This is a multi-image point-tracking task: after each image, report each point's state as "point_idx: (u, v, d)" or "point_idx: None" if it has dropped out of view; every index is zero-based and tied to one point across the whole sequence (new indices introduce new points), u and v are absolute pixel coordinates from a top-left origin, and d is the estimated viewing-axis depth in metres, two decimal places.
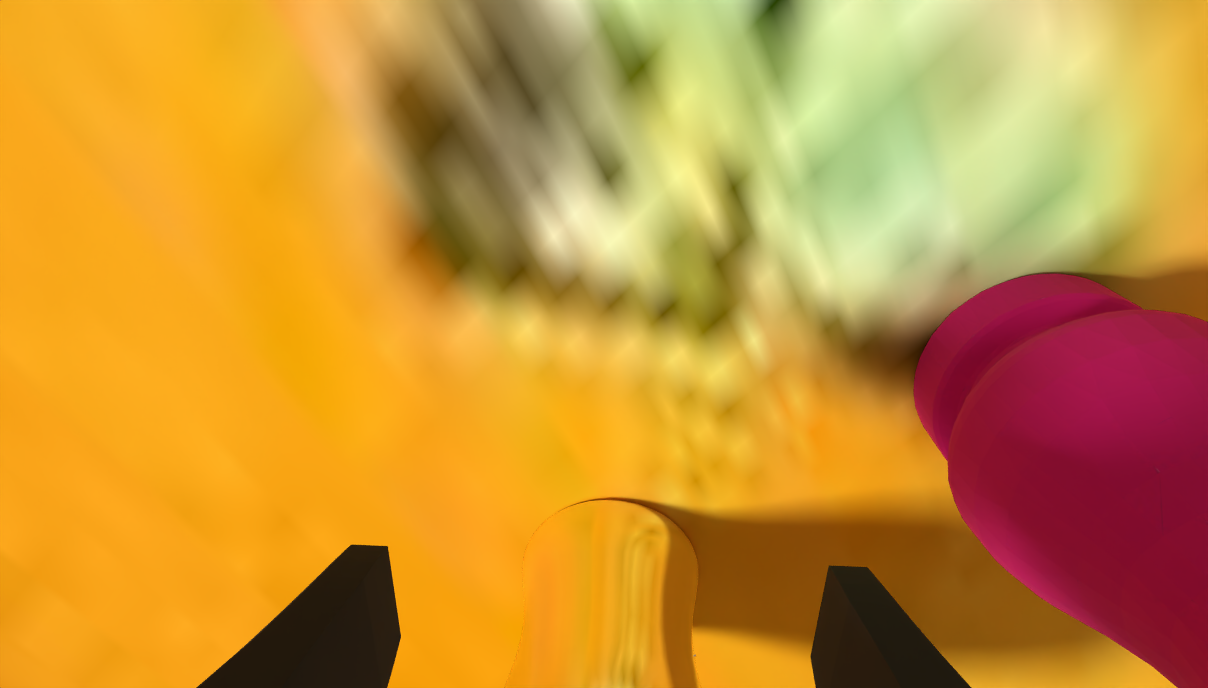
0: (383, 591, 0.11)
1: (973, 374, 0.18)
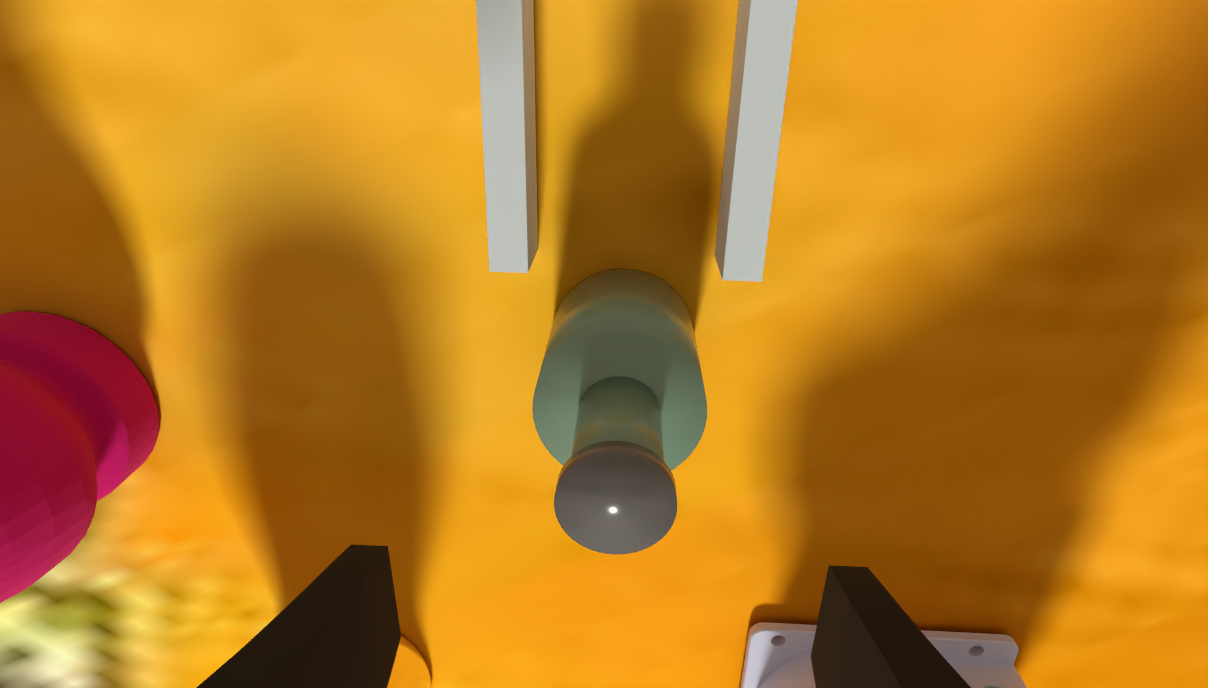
0: (383, 591, 0.11)
1: None
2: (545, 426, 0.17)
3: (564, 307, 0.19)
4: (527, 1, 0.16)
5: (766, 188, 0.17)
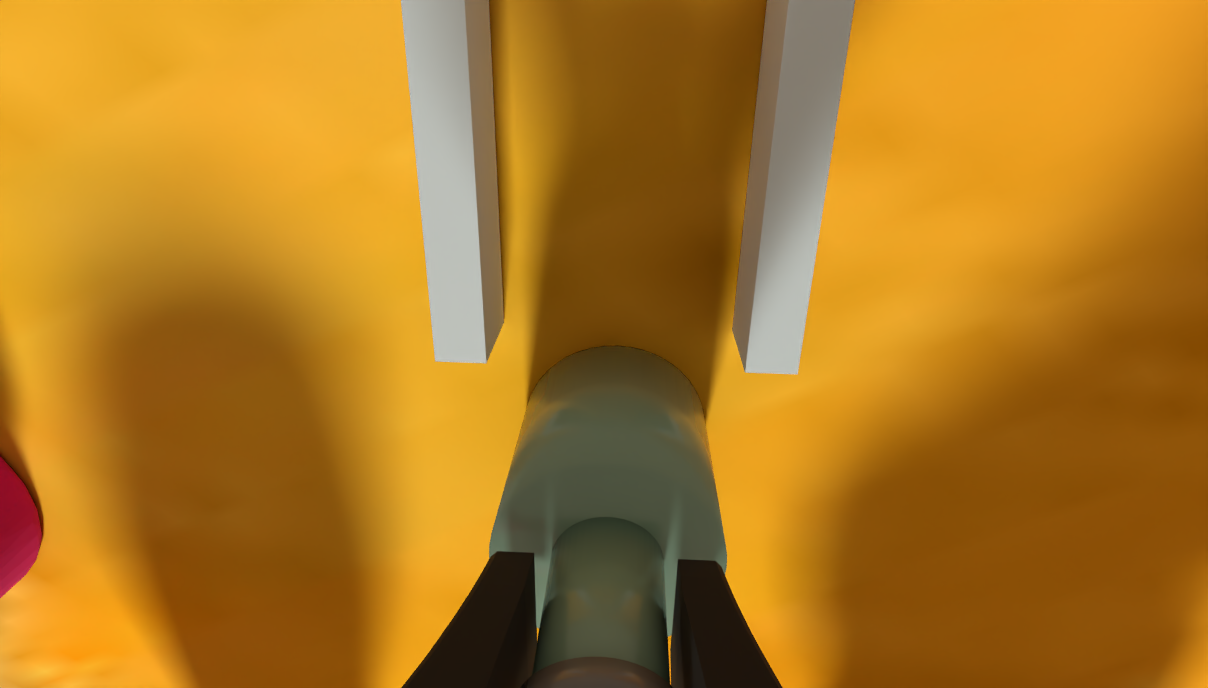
0: (531, 597, 0.11)
1: None
2: None
3: (537, 399, 0.15)
4: (476, 2, 0.12)
5: (806, 254, 0.12)
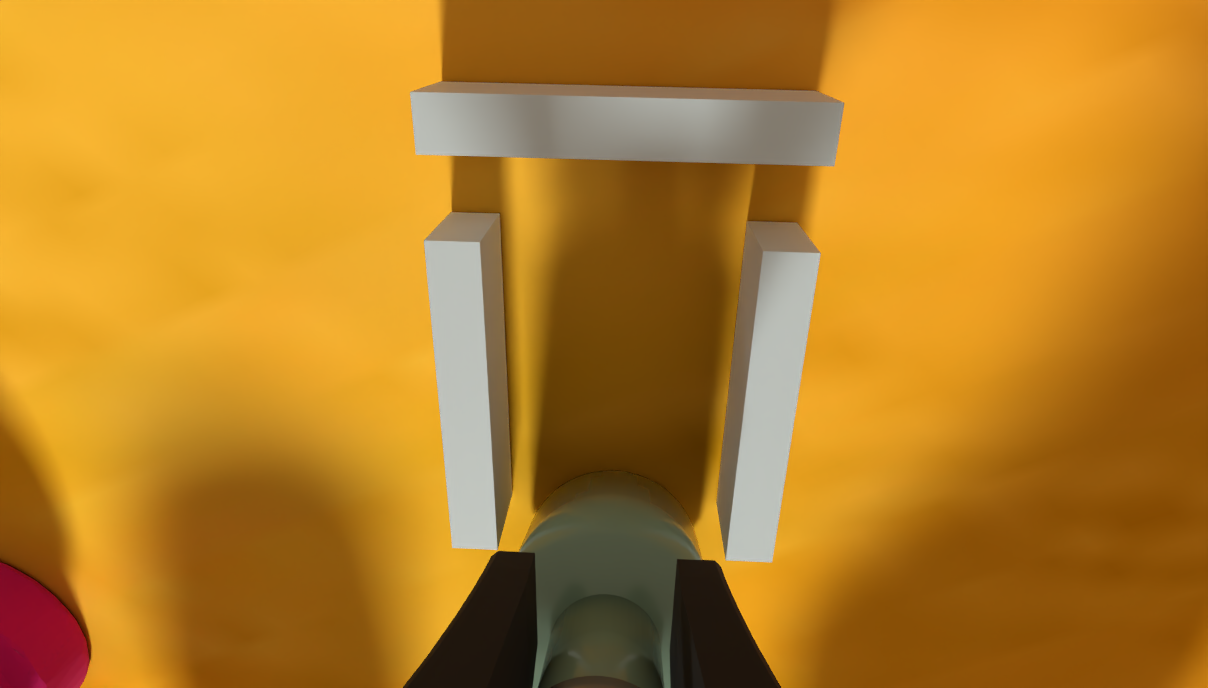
0: (532, 598, 0.11)
1: None
2: None
3: (539, 514, 0.16)
4: (491, 263, 0.14)
5: (777, 471, 0.14)
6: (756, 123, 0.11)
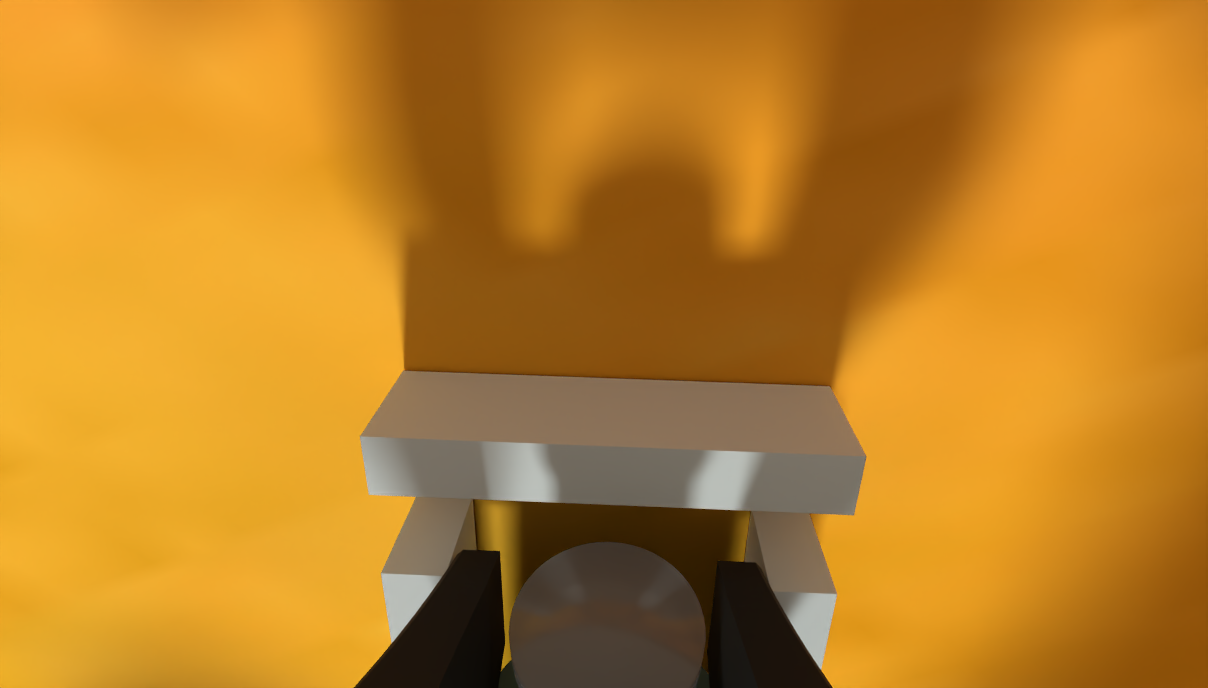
0: (496, 596, 0.11)
1: None
2: None
3: None
4: None
5: None
6: (763, 473, 0.10)
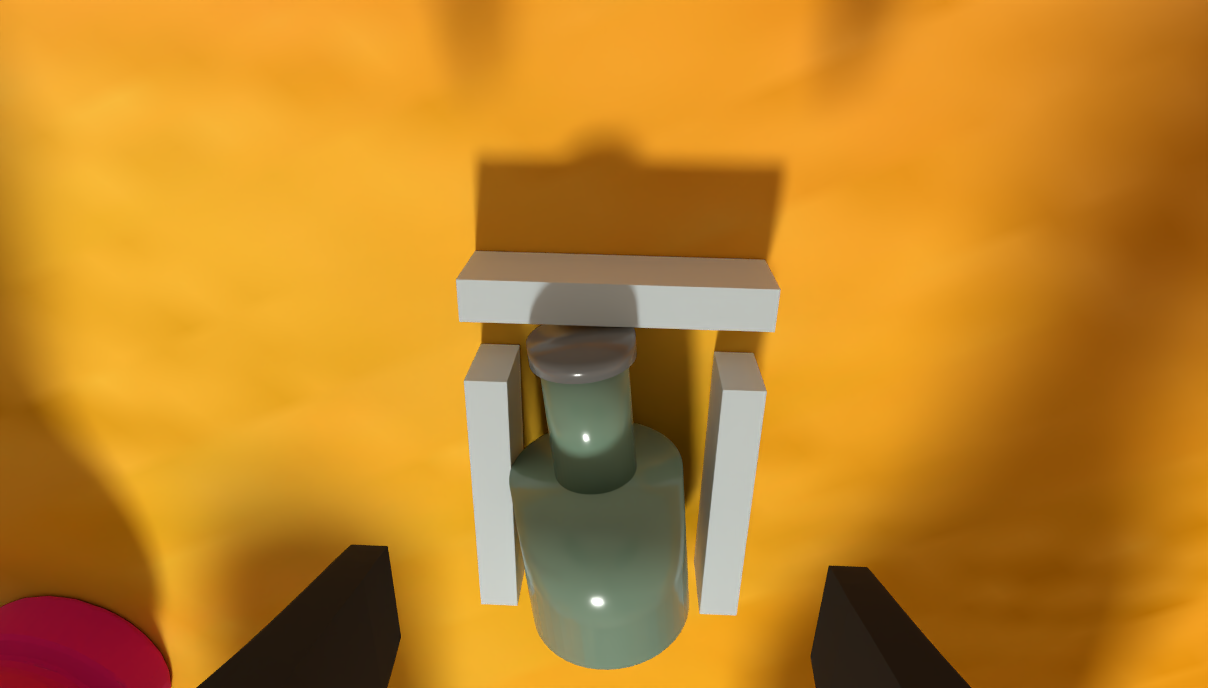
0: (383, 591, 0.11)
1: None
2: (519, 482, 0.17)
3: None
4: (514, 389, 0.17)
5: (738, 547, 0.18)
6: (715, 302, 0.15)
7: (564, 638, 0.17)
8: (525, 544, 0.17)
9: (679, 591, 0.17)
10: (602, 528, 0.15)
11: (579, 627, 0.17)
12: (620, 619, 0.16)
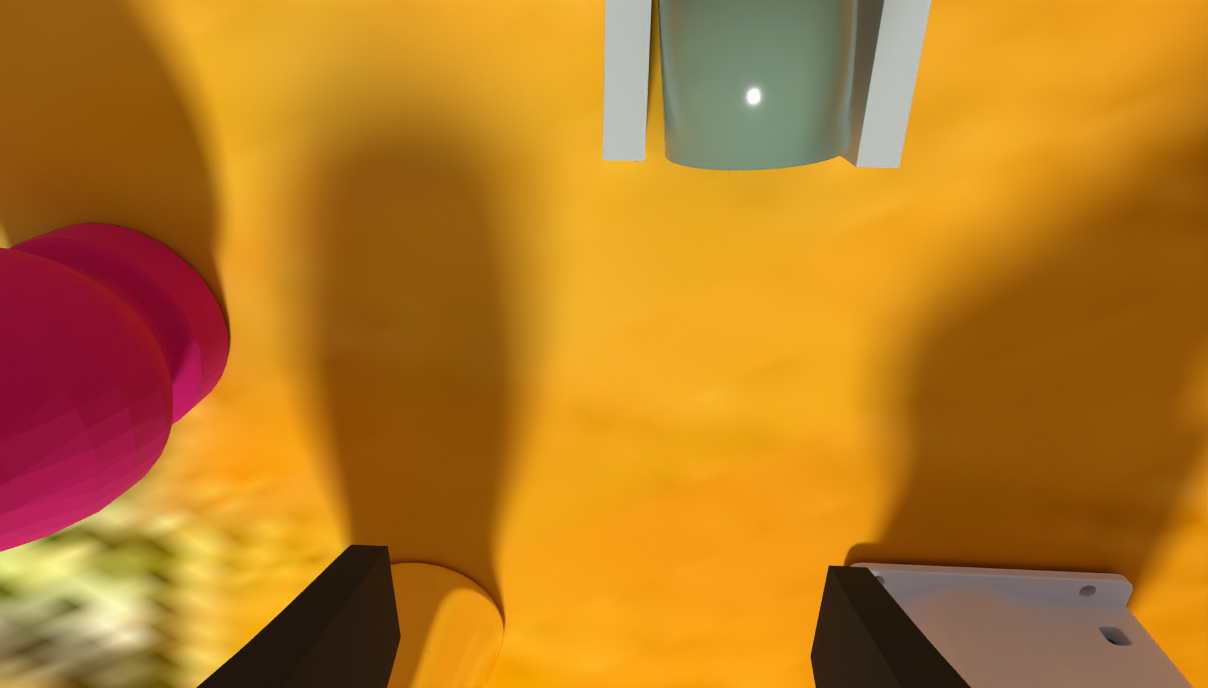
0: (383, 591, 0.11)
1: None
2: None
3: None
4: None
5: (912, 59, 0.16)
6: None
7: (719, 130, 0.14)
8: (678, 2, 0.14)
9: (851, 85, 0.15)
10: None
11: (742, 100, 0.14)
12: (793, 82, 0.14)
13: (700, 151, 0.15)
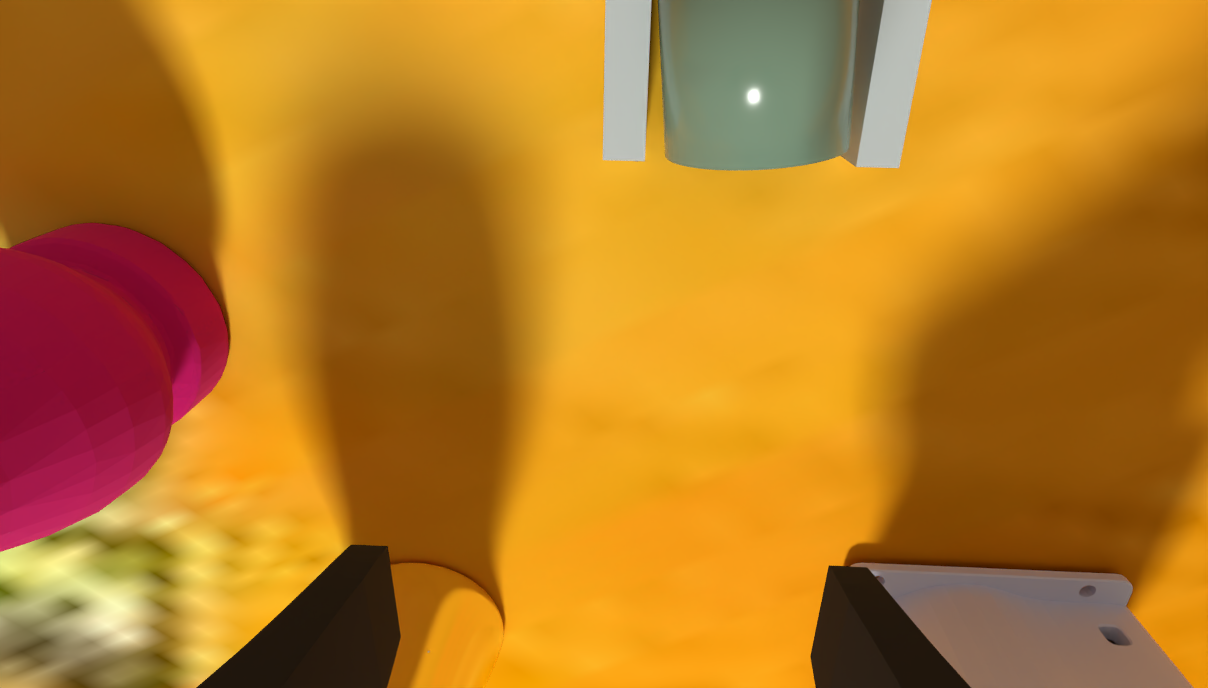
0: (383, 591, 0.11)
1: None
2: None
3: None
4: None
5: (912, 59, 0.16)
6: None
7: (718, 130, 0.14)
8: (678, 2, 0.14)
9: (851, 84, 0.15)
10: None
11: (741, 101, 0.14)
12: (793, 82, 0.14)
13: (700, 151, 0.15)
